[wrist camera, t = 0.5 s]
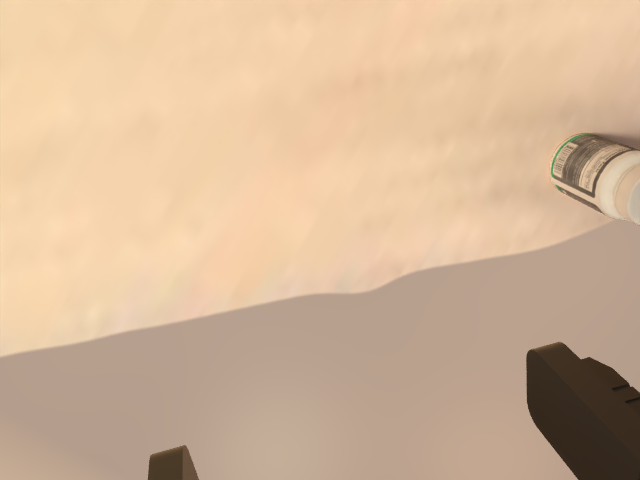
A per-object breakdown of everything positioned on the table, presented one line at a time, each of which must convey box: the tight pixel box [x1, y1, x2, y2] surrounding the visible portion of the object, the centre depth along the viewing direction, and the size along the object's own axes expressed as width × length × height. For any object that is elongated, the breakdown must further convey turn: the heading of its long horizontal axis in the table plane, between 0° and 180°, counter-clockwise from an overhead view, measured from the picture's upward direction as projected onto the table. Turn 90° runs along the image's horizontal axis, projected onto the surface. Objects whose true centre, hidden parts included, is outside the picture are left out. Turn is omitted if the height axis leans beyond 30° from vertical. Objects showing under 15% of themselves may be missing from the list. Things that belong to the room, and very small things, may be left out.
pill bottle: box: [550, 134, 640, 225], centre depth 40 cm, size 5×5×8 cm
